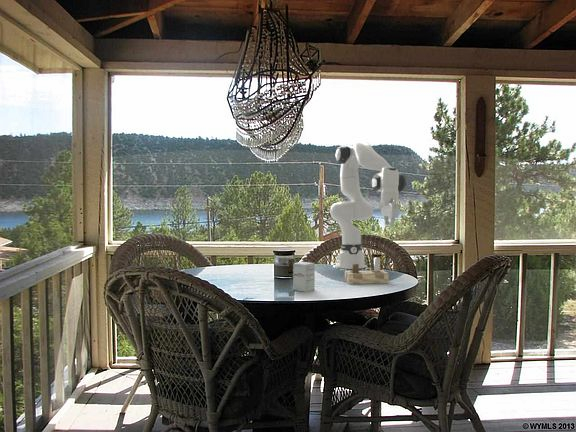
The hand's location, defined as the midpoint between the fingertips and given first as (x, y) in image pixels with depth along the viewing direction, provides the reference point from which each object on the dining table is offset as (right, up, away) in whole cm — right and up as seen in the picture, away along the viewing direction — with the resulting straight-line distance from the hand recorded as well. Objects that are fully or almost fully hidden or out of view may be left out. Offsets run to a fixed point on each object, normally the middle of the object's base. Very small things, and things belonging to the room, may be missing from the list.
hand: (389, 225), depth 279 cm
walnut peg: (-18, -28, -7) cm, 34 cm away
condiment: (-5, -28, +11) cm, 30 cm away
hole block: (-13, -28, -6) cm, 31 cm away
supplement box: (-44, -29, -28) cm, 60 cm away
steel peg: (-7, -28, -5) cm, 29 cm away
